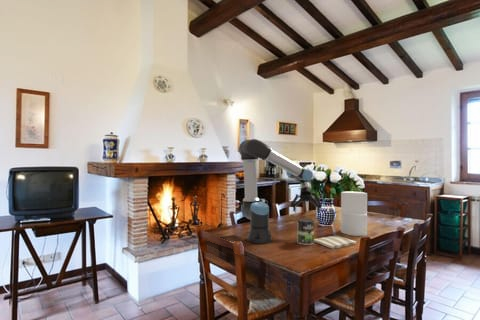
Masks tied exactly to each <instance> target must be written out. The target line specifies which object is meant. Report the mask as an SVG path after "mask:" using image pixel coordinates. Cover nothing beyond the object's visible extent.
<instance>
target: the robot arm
mask: <svg viewBox="0 0 480 320" xmlns="http://www.w3.org/2000/svg"><path fill="white" fill-rule="evenodd" d="M238 152H239V154H240V160H241V161H242V162H243V182H244V185H243V186H244V198H243V199H242V204H241V205H240V206H241V207H240V212H241V214H242V215H243V216H244V217H245V219H248V220H250V229H249V231H248V234H247V241H248V242H250V243H253V244H260V245H261V244H268V243H271V242H272V234H271V231H270V228H269V227H270V225H269V223H270V207H269V205H268V204H267V203H266V202H262V201H261V199H260V198H259V196H258V178H257V177H258V176H257V173H258V172H257V161H259V159H260V160H262V161H267V162H269V163H271V164H273V165H274V166H277V167H279V168H280V169H282V170H283V171H285V173H286V175H287V176H288V177H289V178H290V179H294V180H295V181H297V182H298V183H300V189H299V190H300V192H299V194H298V193H296V194H295V197H294V198H293V200H292V201H291V203H290V207H291V208H293V212H294V217H297V206H298V205H300V204H302V202H303V203H305V202H307V203H308V202H309V203H311V205H313V206H314V207H315V217H316V218H318V213H320V209H322V208H323V205H322V204H321V202H320V200H319V198H317V195H316V194H314V195H313V194H312V179H313V177H314V173H313V171H312V170H311V169H308V168H305V167H303V166H301V165H300V164H298V163H296V162H294V161H293V160H290V159H289V158H288V157H285V156H284V155H282V154H280V153H279V152H277V151H276V150H273V149H272V147H271V146H270V145H269V144H267V143H265V142H263V141H261V140H259V139H256V138H251V139H245V140H243V141H241V143H239V146H238Z"/></svg>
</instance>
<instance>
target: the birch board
mask: <svg viewBox="0 0 480 320" xmlns="http://www.w3.org/2000/svg"><path fill="white" fill-rule="evenodd" d="M313 242H314V243H317V244H319V245H322V246H324V247H326V248H329V249H331V250H333V249H339V248H343V247H348V246H354V245H357V241H355V240H352V239H350V238H347V237H344V236H340V235H331V236H330V235H329V236H324V237H319V238H314V241H313Z"/></svg>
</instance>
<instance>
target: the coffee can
mask: <svg viewBox="0 0 480 320" xmlns="http://www.w3.org/2000/svg"><path fill="white" fill-rule="evenodd" d="M296 221H297V222H296V223H297V225H296V226H297V227H296V229H297V231H296V242H297V244H299V245H303V246H310V245H313V244H315V242H314V239H315V237H314V235H315V234H314V233H315V230H314V227H315V225H314V224H315V220H314V219H311V218H304V217H303V218H302V217H301V218H297V219H296Z"/></svg>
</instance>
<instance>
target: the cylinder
mask: <svg viewBox="0 0 480 320" xmlns="http://www.w3.org/2000/svg"><path fill="white" fill-rule="evenodd" d="M340 196H341V197H340V198H341V199H340V200H341V201H340V207H341V208H340V232H341V233H342V234H345V235H348V236H349V235H350V236H355V237H360V236H362V237H363V236H367V234H368V192H363V191H353V190H352V191H350V190H349V191H341V193H340Z"/></svg>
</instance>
